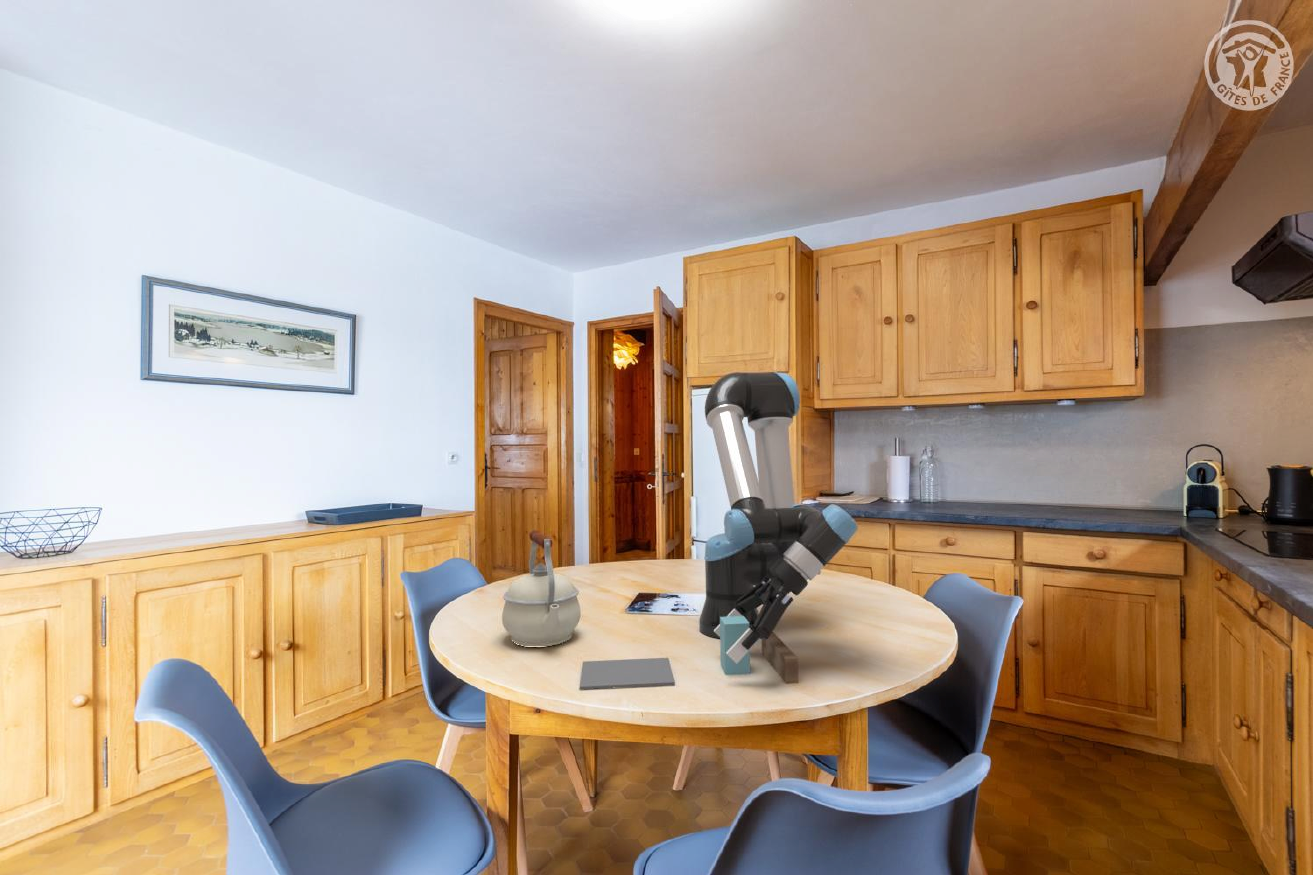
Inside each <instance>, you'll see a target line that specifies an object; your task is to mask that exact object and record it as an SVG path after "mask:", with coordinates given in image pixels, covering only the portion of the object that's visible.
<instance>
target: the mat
mask: <svg viewBox="0 0 1313 875" xmlns="http://www.w3.org/2000/svg"><path fill="white" fill-rule="evenodd" d="M670 662H671V661H670V660H669V657H651V658H650V657H649V658H633V659H632V658H631V659H607V660H588V661H586V660H585V661H584V660H583V661H582V667H581V673H580V682H579V690H580V689H590V690H592V689H591V688H611V689H614V688H613V687H631V688H646V687H645V686H651V687H664V686H663V685H672V686H676V681H675V679H674V678H675V677H674V674H673V669H672V666H671V663H670Z"/></svg>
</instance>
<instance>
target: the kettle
mask: <svg viewBox="0 0 1313 875" xmlns="http://www.w3.org/2000/svg"><path fill="white" fill-rule="evenodd" d="M529 539H530V541H531V549H530V555H529V562H528V563H529V564H528V570H529V571H528V572H529V574H526V575H523V576H521V577H519V578H517V579H515V580H513V582H512V583H511V584H510V585H509V587H508V589H507V591H506V592H505V593H504V594H503V596H502V597H503V600H505V602H504V605H503V609H502V614H501V615H502V616H501V621H502V626H503V628H504V629H505V631H506V633H508V634H509V635H510V636H511V641H512V640H513V641H514V642H515V643H517V644H519V645H523V646H552V645H556V644H560V643H562V644H564V643H563V642H565V641H566V642H568V641H569V640H571V638H573V637H572V636H573V631H574V630H575V629H576V627H577V626H578V624H579V622H580V619H581V607H580V603H579V600H578V595H579V594H580V593H579V592H580V591H579V589H578V588H577V587H575V585H574V583H573V581H572V580H571V579H570V578H568V577H567V576H565V575H562V574H559V573H555V572H554V568H553V562H552V553H551V548H552V547H553V540H552V539H551V538H550V537H547V536H546V535H544V534H543V533H541V532H539V530H532V531H531V532H530V533H529ZM538 546H539V547H541V548H542V549H543V550H544V561H545V562H544V563H545V564H544V563H541V562H540V563H538V564H537V565H535V564H536V563H535V562H536V555H537V550H538V549H537V548H538ZM567 640H568V641H567ZM566 642H565V643H566ZM560 645H561V644H560ZM556 646H557V645H556ZM552 647H553V646H552Z"/></svg>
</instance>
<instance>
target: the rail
mask: <svg viewBox="0 0 1313 875" xmlns="http://www.w3.org/2000/svg"><path fill="white" fill-rule="evenodd" d="M761 654H762V656H763V658H765V660H766V661H767V662H768V664H770V665H771V667H772V668H773V670H775V672H776V673H777V674H778V676H779V677H780V678H781V679H782V681H783V682H784V683H785V684H798V683H799V670H798V669H799V668H798V667H799V663H798V662H799V661H798V660H799V659H798V656H797V655H795V653H794V651H792V650H791V649H790V648H789V646H787V645H786V644H785V643H784V642H783V641H782V640H781V638H780V637H778V636H777V634H776V633H775V632H774V631H773V632H772V633H771V635H770V636H769V638H768V639H764V638H762V639H761Z"/></svg>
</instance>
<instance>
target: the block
mask: <svg viewBox="0 0 1313 875" xmlns="http://www.w3.org/2000/svg"><path fill="white" fill-rule="evenodd" d="M748 628H749V622H748V621H747V620H746V618H745V617H744V616H730V617H720V638H719V639H720V641H719V642H720V646H719V647H720V668H721V669H722V670H723V673H724V675H725V676H726V675H727V676H729V675H749V674H750V675H751V649H750V650H749V651H748V652H747V653H746V654H745V655H744V657H743V658H742V659H741V660H740V661H739V662H738V663H737V664H736V663H735V662H734V661H733V660H732V659H731V658H730V657H729V656H728V655H727V654H726V652H727V651H728V650H729V649H730V648H731V647H732V646H733V645H734V644H735V643H736V641H737V640H738V639H739V638H740V637H741V636H742V635H743V634H744V633H745V632H746V631H747V630H748Z"/></svg>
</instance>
